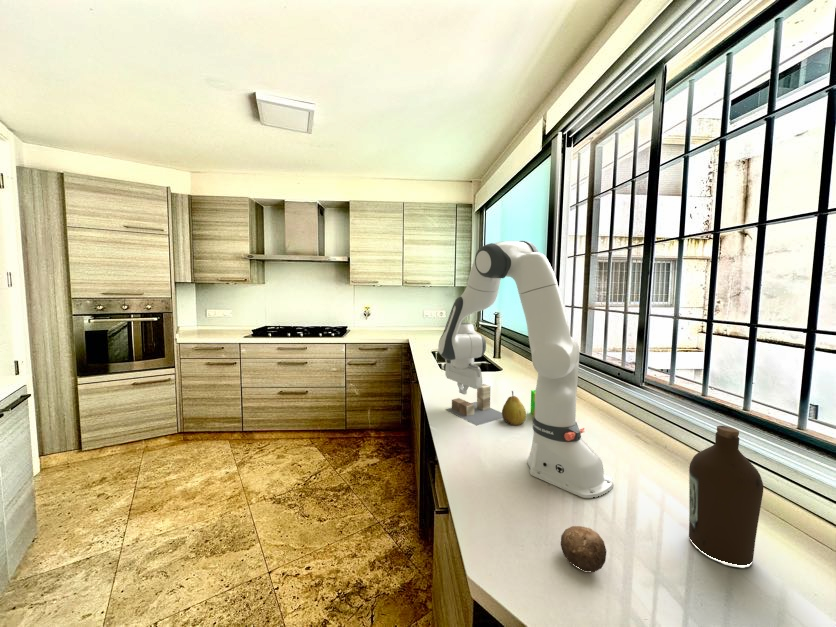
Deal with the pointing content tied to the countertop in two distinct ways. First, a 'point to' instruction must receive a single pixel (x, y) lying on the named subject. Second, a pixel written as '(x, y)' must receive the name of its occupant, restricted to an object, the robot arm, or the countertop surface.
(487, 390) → the ash block
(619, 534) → the countertop surface
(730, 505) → the olive oil
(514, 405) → the fruit
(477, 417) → the mat
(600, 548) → the brown potato
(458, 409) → the walnut block
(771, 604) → the countertop surface
